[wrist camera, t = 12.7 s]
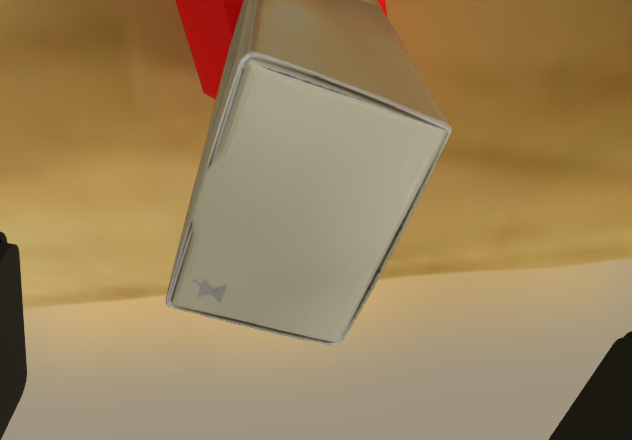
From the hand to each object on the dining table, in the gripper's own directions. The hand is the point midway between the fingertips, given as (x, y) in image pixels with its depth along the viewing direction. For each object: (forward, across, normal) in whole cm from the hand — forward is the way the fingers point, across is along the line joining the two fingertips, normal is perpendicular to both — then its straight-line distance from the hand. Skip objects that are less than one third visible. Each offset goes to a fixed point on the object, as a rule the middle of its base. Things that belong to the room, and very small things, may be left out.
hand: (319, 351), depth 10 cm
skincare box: (+16, +1, 0) cm, 16 cm away
